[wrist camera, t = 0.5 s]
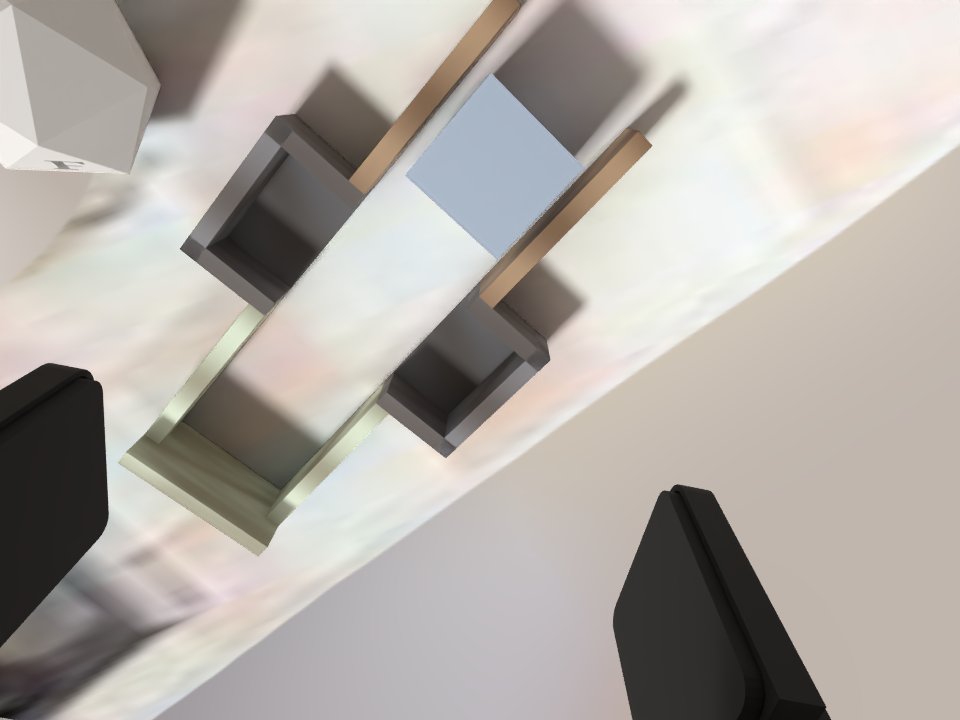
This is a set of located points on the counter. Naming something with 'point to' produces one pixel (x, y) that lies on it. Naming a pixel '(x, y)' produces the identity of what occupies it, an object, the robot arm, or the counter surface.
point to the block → (494, 167)
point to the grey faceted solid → (71, 87)
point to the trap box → (289, 252)
